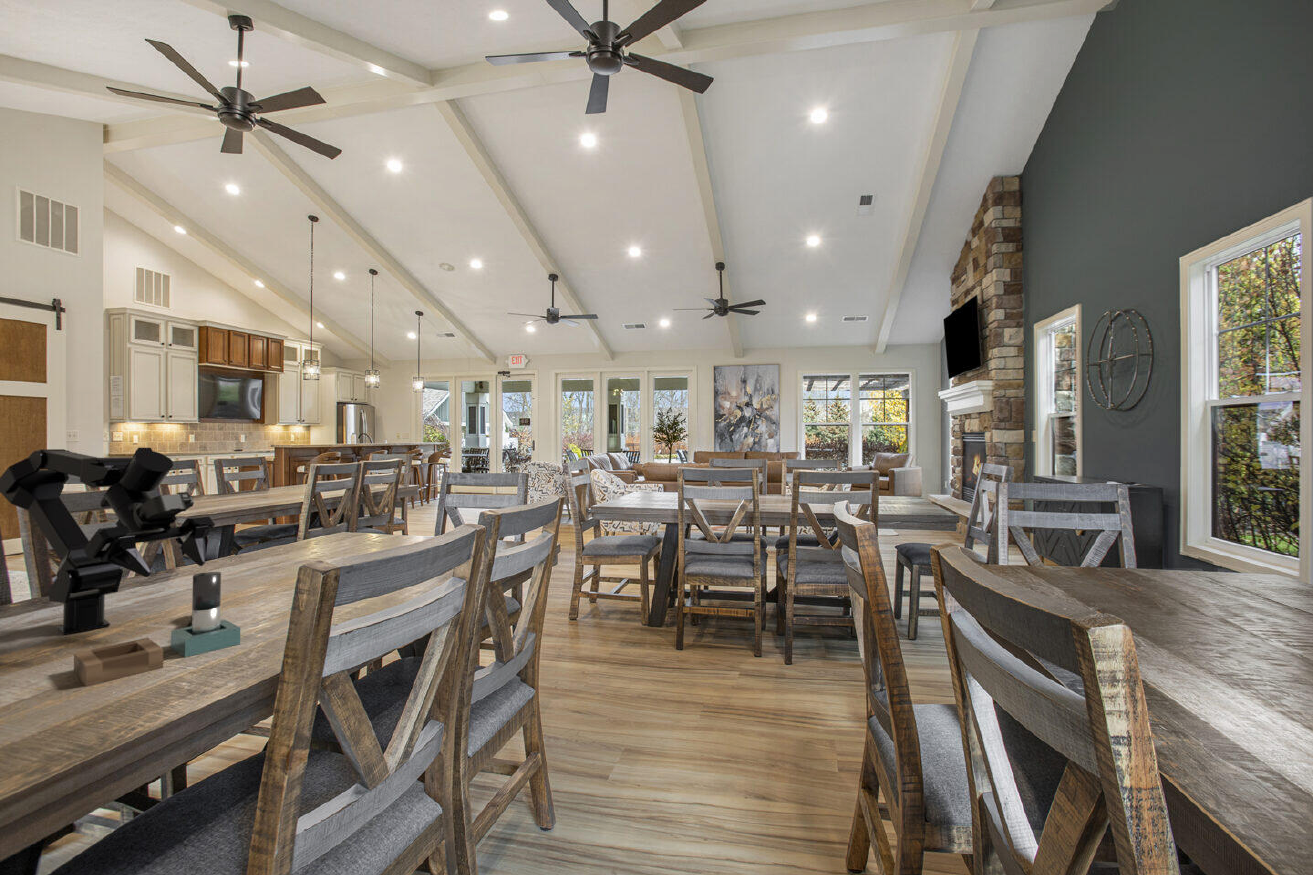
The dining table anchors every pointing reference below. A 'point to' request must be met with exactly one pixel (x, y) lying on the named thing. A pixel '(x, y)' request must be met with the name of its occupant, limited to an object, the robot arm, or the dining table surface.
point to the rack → (117, 661)
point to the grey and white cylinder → (206, 602)
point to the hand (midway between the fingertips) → (176, 569)
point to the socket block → (205, 639)
